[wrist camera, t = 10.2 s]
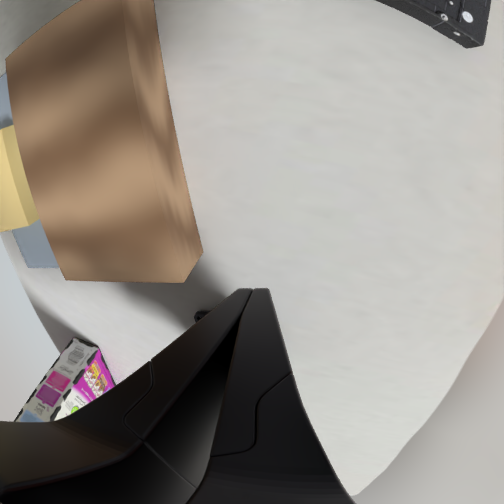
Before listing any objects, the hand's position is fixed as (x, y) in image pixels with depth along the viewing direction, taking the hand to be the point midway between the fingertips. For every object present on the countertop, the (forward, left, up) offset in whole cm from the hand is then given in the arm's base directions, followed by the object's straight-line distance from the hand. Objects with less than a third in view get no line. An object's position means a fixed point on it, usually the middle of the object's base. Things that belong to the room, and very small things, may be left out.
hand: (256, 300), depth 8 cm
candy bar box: (-23, +29, -12) cm, 39 cm away
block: (+5, +27, -10) cm, 29 cm away
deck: (+5, +13, -12) cm, 18 cm away
